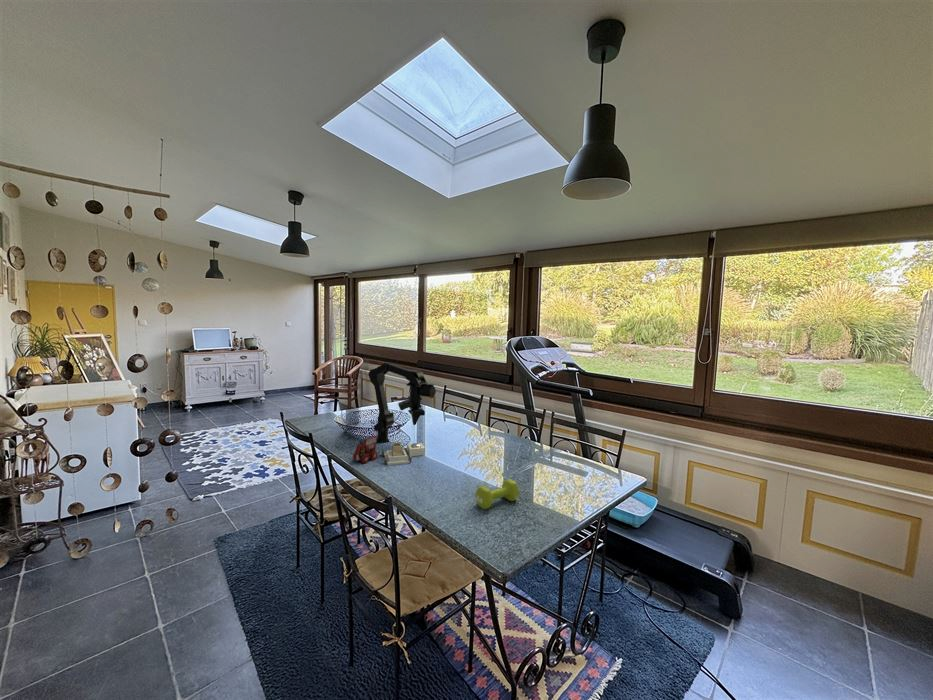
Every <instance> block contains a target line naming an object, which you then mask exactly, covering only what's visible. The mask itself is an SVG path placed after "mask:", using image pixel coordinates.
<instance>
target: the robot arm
mask: <svg viewBox="0 0 933 700" xmlns="http://www.w3.org/2000/svg"><path fill="white" fill-rule="evenodd" d="M389 372H390V373H393V374H395V375H398V376H401V377H404V378H405V379H406V380H407V381H408V382H407V383H406V386H407V387H409V396H408V397H407V398H408V399H405V400H402V401H399V402H398V403H397V404H398V408H399V411H404V410H406V409H408V408H409V409H408V410H407V412H408V413H409V414H410V416H411V420H412V425H413V426H416V425H417V422H418V421H419V419H420V417H421V416H425V415H426V414H425V413H426V411H425V410H424V409H423V407H422V399H423V397H424V398H431V399H432V398H434V397H435V396H436V393H437V391H436V387H435V384H433V383H428V381H427V379H426V378H425V375H424V372H423V371H422V370H420V369H419V370H418V369H409V368H407V367H404V366H400V365H397V364H394V363H392V362H390V361H389V362H388V361H387V362H384V363H383V364H381V365H378V366H377V367H375V368H372V369H370V370H369V372H368V377H369V381H370V382H371V384H372V386H374V391H375V396H376V403H377V407H378V416H377V423H376V424H375V425H374V426H373V431H375V432H376V436H377V441H376V443H388V442H390V439H389V429H391V428H392V426H393V425H394V424H395V416H394V414H395V413H394V412H393V411H392V412H391V411H390V410H389V407H388V405H389V404H388V401H387V395H386V391H385V385H384V383H385V379H386V374H388V373H389Z"/></svg>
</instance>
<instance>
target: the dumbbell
mask: <svg viewBox="0 0 933 700" xmlns="http://www.w3.org/2000/svg"><path fill="white" fill-rule="evenodd" d="M474 494H475V495H474V496H475V500H476V503H477V505H478V507H479V508H481V509H483V510H487V509H490V507H491V506H492V505H493V503H494V500H497V499H501V498H505V499H506V500H508V501H510V502H514V501H516V500H517V499H518V497H519V496H520V490H519V485H518V483H517V482H516V481H514V480H513V479H512V478H507V479H505V480H504V481H503V483H502V485H501V488H496V489H494V490H491V489H490V488H488V487H487V486H485V485H481V486H479V487H478V488H477V489H476V491H475V493H474Z"/></svg>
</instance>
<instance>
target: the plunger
mask: <svg viewBox="0 0 933 700" xmlns="http://www.w3.org/2000/svg"><path fill="white" fill-rule="evenodd" d="M419 443H420V442H415V443H411V444H412V448H419V447H420V444H419Z"/></svg>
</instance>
